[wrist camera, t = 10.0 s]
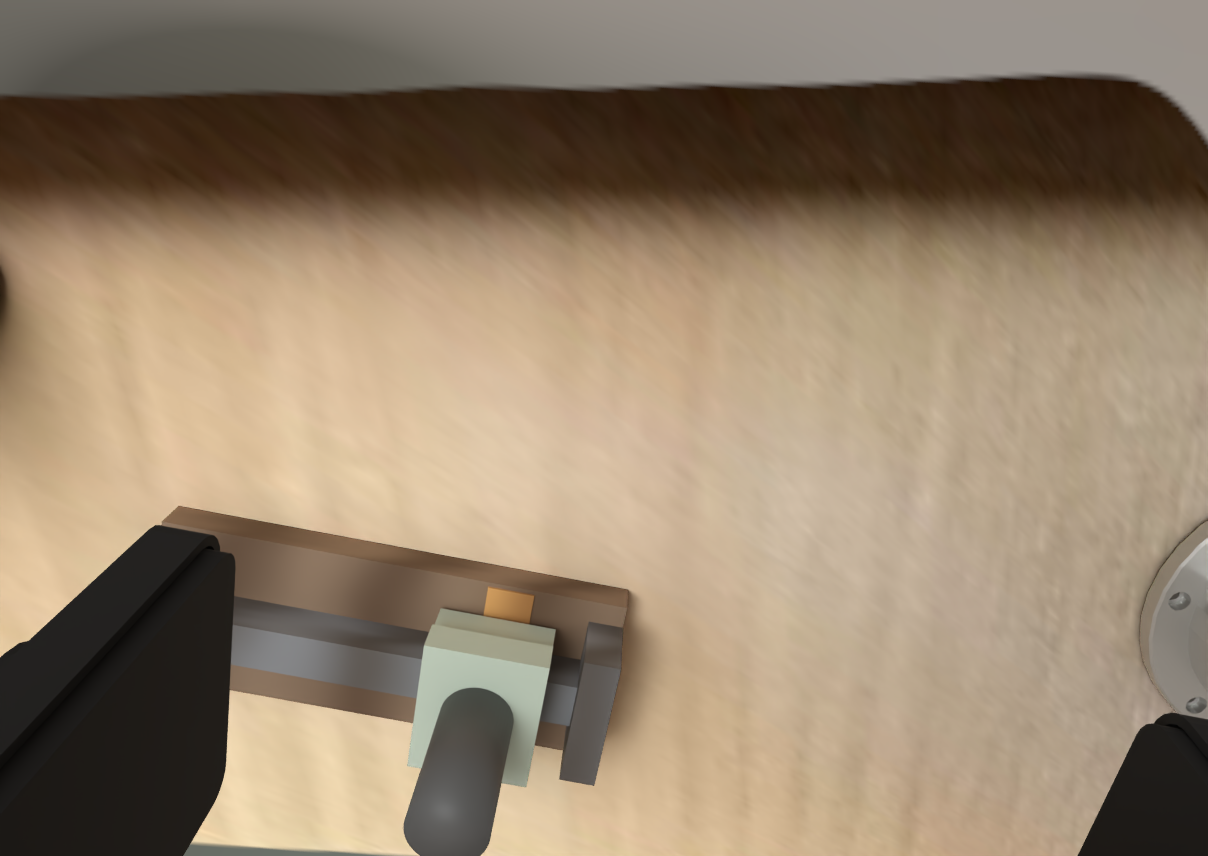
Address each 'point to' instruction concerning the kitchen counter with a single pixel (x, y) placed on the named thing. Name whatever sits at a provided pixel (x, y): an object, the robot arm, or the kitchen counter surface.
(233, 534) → the rail base
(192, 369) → the kitchen counter surface
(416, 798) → the carriage
